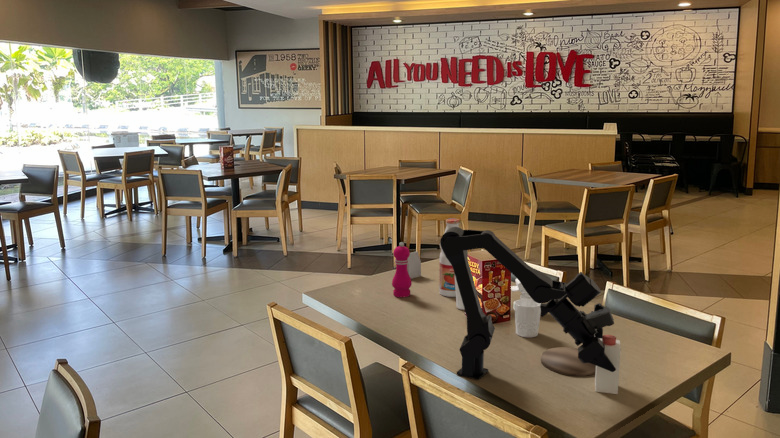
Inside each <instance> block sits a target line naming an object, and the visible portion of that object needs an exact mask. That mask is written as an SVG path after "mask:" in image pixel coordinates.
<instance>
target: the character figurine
mask: <svg viewBox="0 0 780 438" xmlns="http://www.w3.org/2000/svg"><path fill="white" fill-rule="evenodd" d="M510 287H511V288H510V290H511V292H513V293H516V292H519V293H521V294H520V296H519V298H520V299H532V298H531V297H530V295H529V294H528V293H527V292H526V290H525V289H524V287H523V286H522V284H521V282H520V281H519V280H518V279H517V278H515V285H512V286H510ZM515 301H516V300H514V301H513V310H514V311H515Z"/></svg>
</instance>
